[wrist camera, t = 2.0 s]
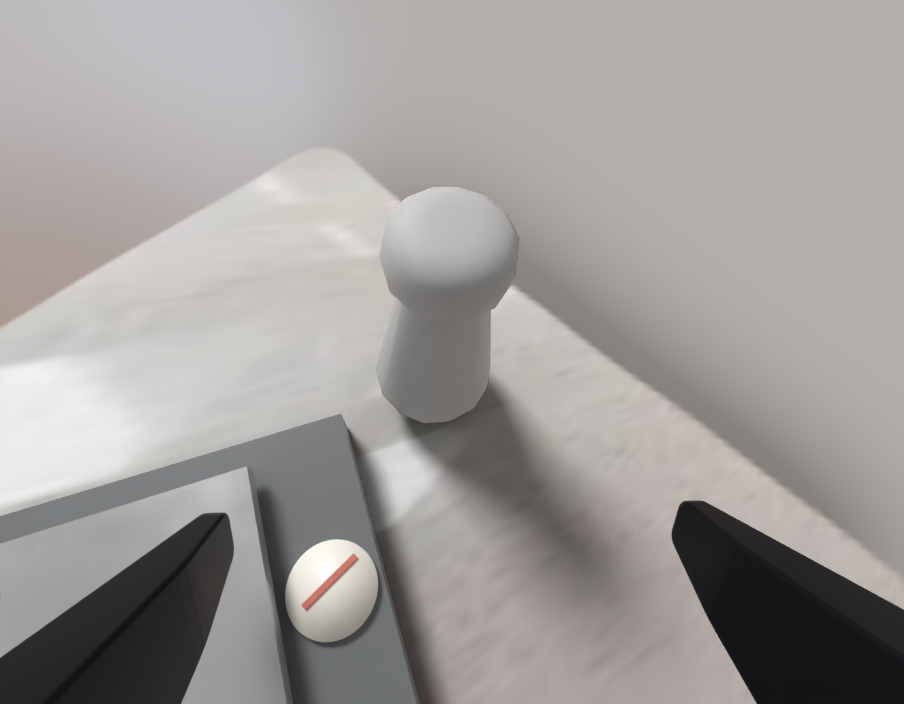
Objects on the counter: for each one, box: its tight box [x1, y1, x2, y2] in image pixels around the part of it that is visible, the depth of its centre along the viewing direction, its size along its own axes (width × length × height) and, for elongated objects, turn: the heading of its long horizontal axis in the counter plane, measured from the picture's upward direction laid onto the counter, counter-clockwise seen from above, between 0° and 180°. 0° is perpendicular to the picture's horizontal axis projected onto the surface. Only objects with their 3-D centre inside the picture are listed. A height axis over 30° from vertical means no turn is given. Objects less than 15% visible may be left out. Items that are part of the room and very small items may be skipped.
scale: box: [0, 414, 420, 704], centre depth 17 cm, size 14×14×3 cm
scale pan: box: [0, 466, 293, 704], centre depth 15 cm, size 11×9×1 cm
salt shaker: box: [376, 187, 519, 424], centre depth 18 cm, size 6×6×13 cm
